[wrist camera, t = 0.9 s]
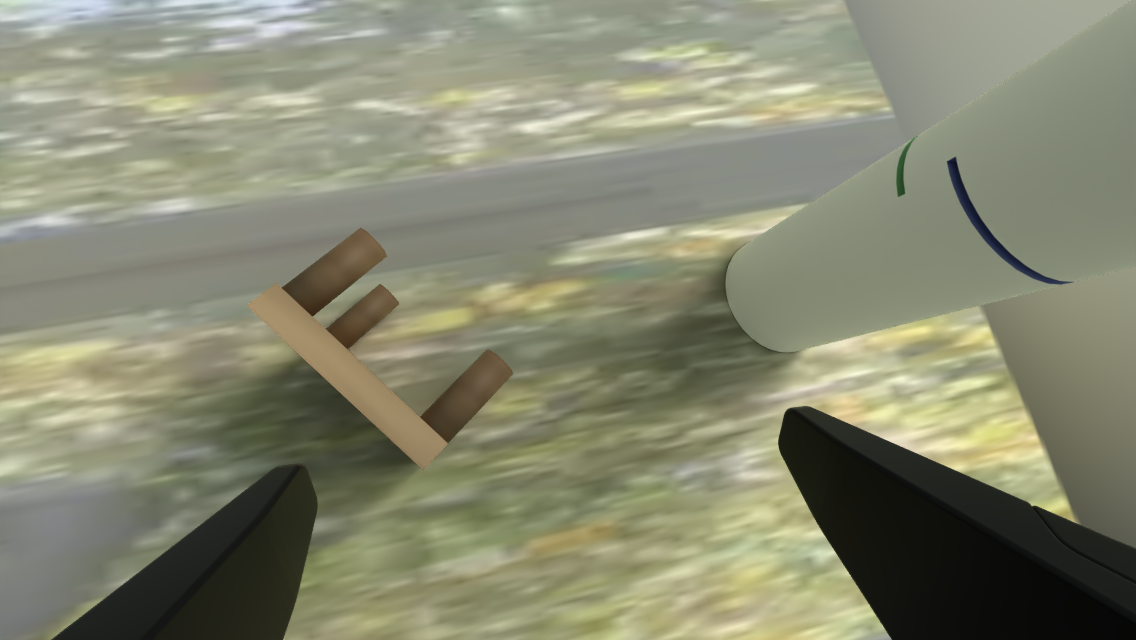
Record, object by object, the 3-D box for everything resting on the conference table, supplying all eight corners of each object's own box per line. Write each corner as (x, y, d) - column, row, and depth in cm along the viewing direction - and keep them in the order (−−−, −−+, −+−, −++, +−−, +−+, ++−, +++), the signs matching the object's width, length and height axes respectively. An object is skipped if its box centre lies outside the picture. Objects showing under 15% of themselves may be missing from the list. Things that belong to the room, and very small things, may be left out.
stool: (357, 222, 15) (246, 305, 13) (515, 371, 15) (423, 470, 13) (380, 289, 21) (308, 350, 20) (491, 392, 21) (426, 460, 20)
